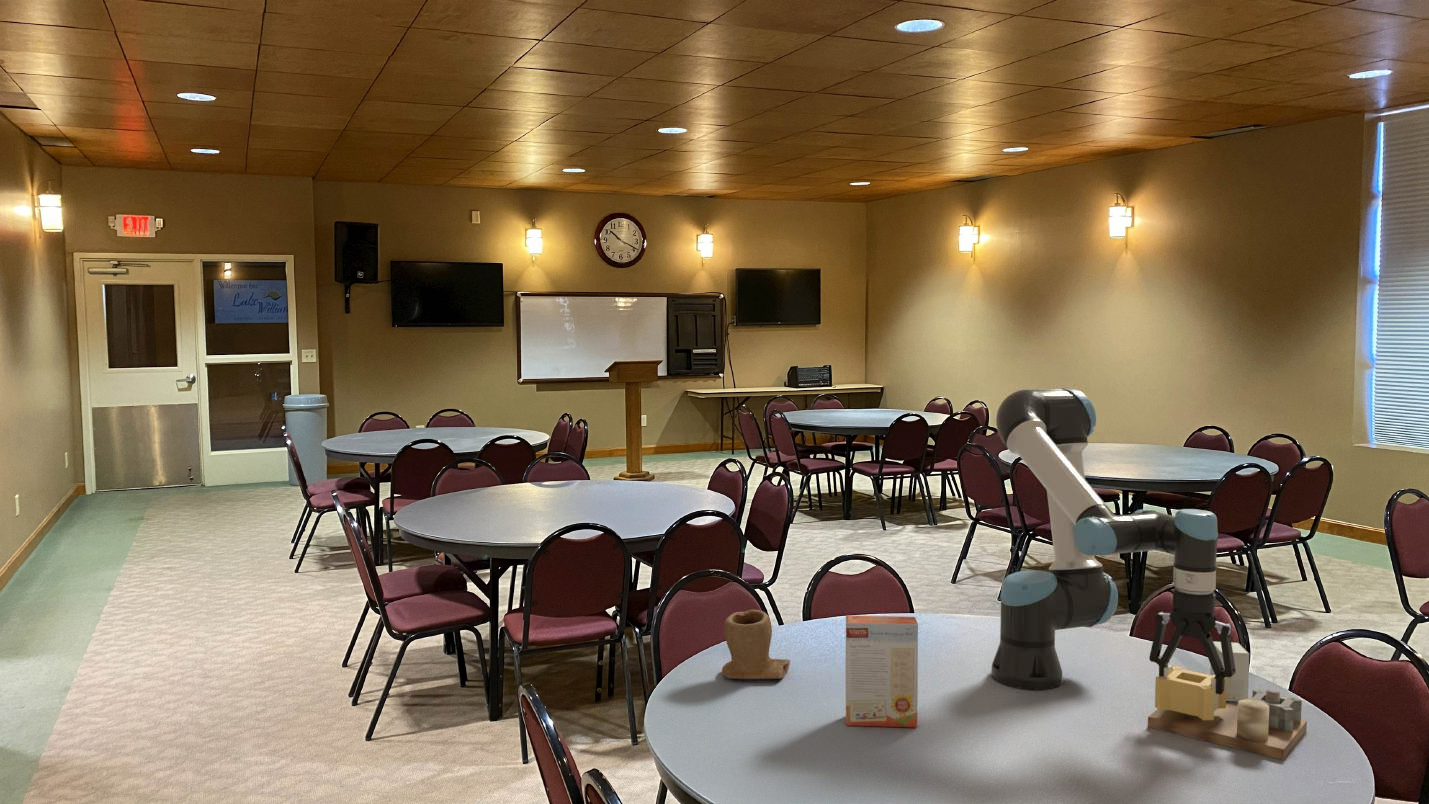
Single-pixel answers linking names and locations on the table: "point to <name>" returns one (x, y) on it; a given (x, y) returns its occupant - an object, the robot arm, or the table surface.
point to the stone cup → (751, 647)
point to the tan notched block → (1188, 693)
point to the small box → (1239, 680)
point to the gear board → (1227, 731)
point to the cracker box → (881, 671)
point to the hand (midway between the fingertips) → (1190, 703)
